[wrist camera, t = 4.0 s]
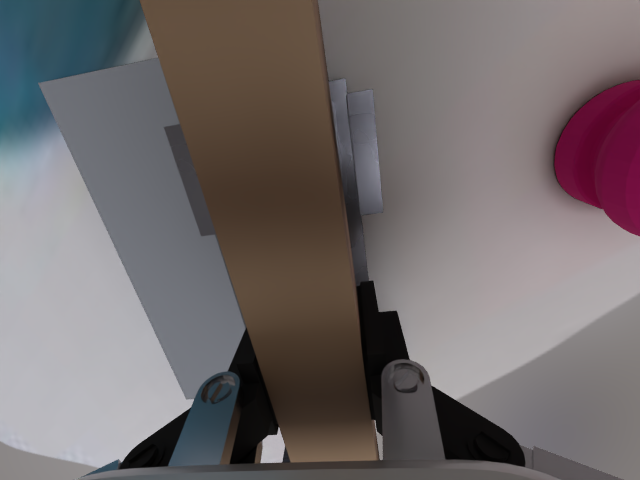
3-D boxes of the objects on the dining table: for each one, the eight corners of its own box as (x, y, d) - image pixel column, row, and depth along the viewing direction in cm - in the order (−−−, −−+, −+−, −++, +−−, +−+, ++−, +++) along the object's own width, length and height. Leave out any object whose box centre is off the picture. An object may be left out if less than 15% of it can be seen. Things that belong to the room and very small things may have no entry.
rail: (190, -33, 8) (103, -109, 5) (309, -63, 7) (289, -164, 4) (329, 497, 17) (327, 574, 14) (384, 496, 16) (393, 575, 14)
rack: (256, 96, 16) (148, 82, 7) (353, 78, 16) (368, 37, 7) (315, 361, 24) (298, 522, 15) (382, 356, 23) (409, 521, 14)
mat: (48, 83, 17) (37, 83, 16) (164, 59, 16) (158, 57, 15) (189, 393, 26) (186, 399, 26) (268, 388, 25) (266, 394, 25)
